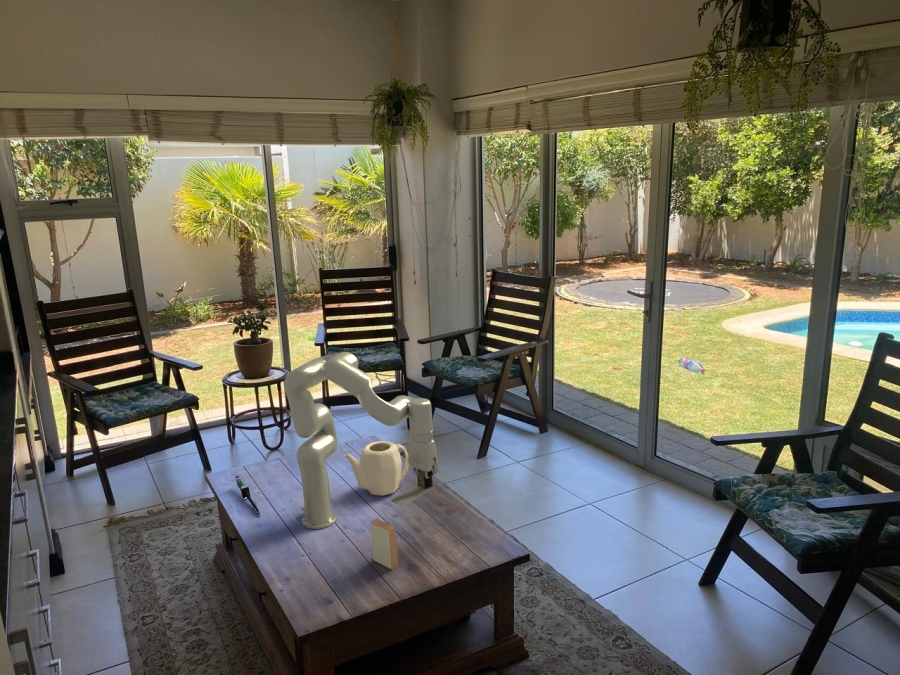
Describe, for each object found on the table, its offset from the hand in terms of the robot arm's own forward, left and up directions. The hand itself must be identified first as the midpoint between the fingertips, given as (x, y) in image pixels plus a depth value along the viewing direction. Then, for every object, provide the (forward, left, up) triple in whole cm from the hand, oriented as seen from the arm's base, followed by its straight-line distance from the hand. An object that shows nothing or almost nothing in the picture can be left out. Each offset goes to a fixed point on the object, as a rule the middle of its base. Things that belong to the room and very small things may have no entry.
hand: (425, 486), depth 228 cm
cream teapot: (-40, +14, -19) cm, 47 cm away
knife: (-75, -24, -20) cm, 81 cm away
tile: (0, -20, -19) cm, 28 cm away
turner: (0, -6, -1) cm, 6 cm away
